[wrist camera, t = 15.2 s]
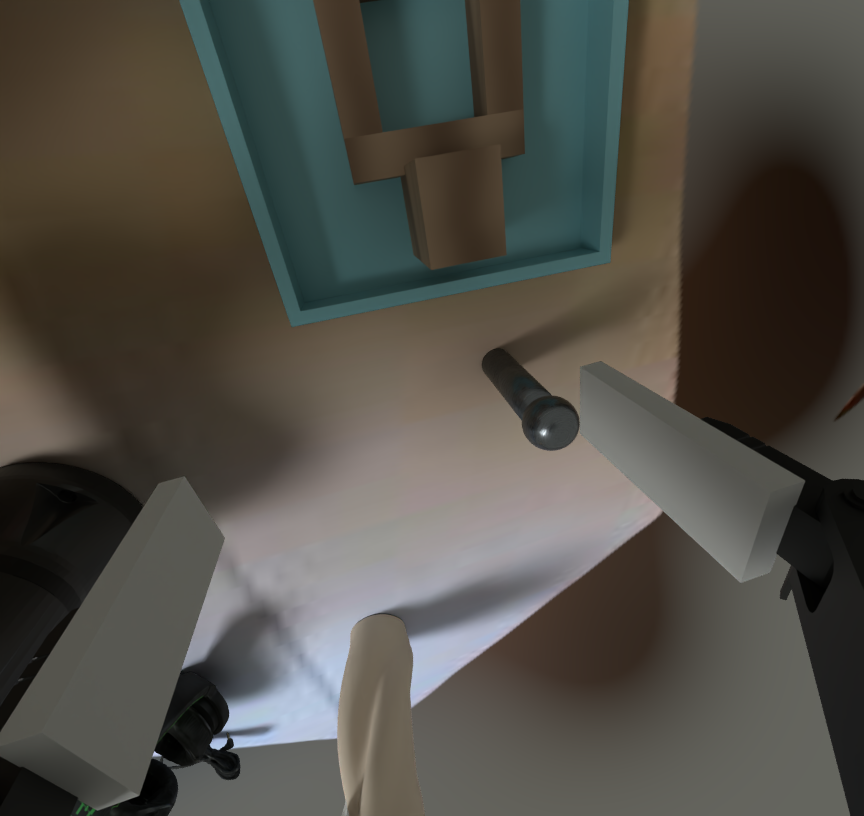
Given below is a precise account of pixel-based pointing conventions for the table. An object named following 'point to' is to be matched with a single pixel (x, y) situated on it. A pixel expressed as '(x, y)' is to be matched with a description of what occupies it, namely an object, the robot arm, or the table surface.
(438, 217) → the tan blocky piece
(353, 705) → the water bottle
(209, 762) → the headset
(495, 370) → the dark grey rod
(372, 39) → the tray
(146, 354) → the table surface
